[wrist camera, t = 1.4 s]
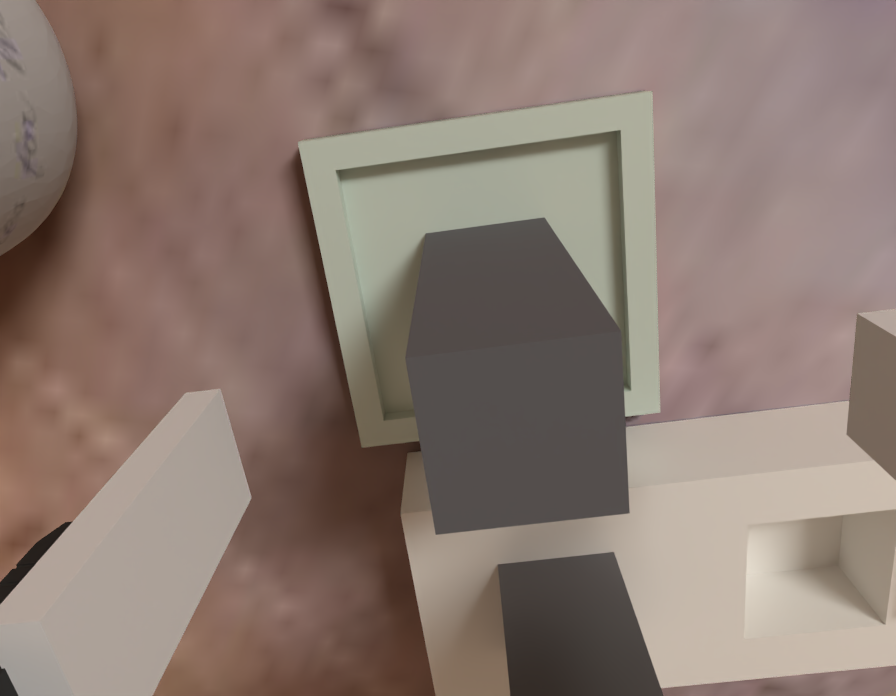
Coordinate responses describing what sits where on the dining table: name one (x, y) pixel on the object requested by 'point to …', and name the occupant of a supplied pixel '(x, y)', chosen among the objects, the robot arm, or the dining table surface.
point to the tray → (477, 204)
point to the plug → (515, 382)
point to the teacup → (32, 121)
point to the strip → (673, 568)
